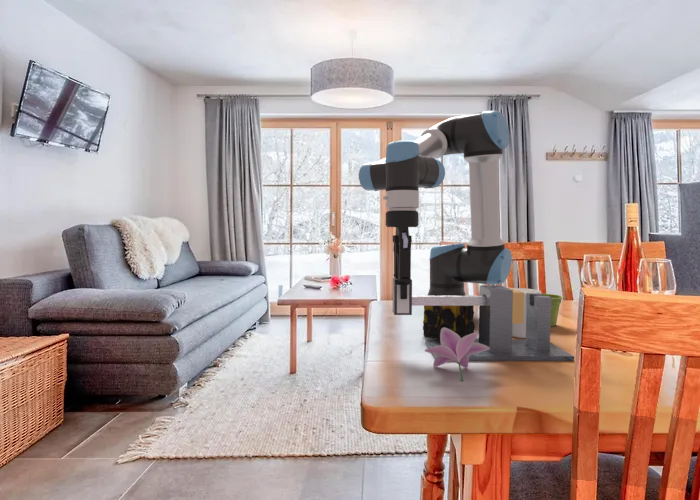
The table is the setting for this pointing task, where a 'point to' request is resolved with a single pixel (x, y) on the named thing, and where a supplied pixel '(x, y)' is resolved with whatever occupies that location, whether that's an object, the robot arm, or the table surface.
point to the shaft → (436, 300)
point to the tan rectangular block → (517, 306)
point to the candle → (448, 320)
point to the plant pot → (554, 307)
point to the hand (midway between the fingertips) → (401, 310)
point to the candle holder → (520, 329)
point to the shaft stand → (499, 329)
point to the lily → (455, 348)
